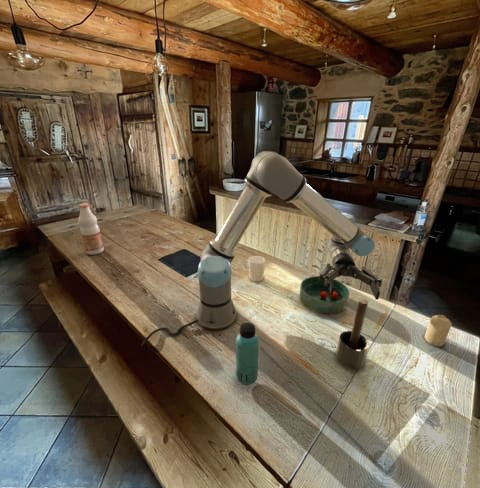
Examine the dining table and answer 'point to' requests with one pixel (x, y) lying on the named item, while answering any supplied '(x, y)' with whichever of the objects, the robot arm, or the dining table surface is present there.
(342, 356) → the crock
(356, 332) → the stirring stick
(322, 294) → the tomato
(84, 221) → the fruit juice
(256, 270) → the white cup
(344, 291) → the bowl
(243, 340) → the beverage bottle
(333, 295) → the tomato
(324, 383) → the dining table surface
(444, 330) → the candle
